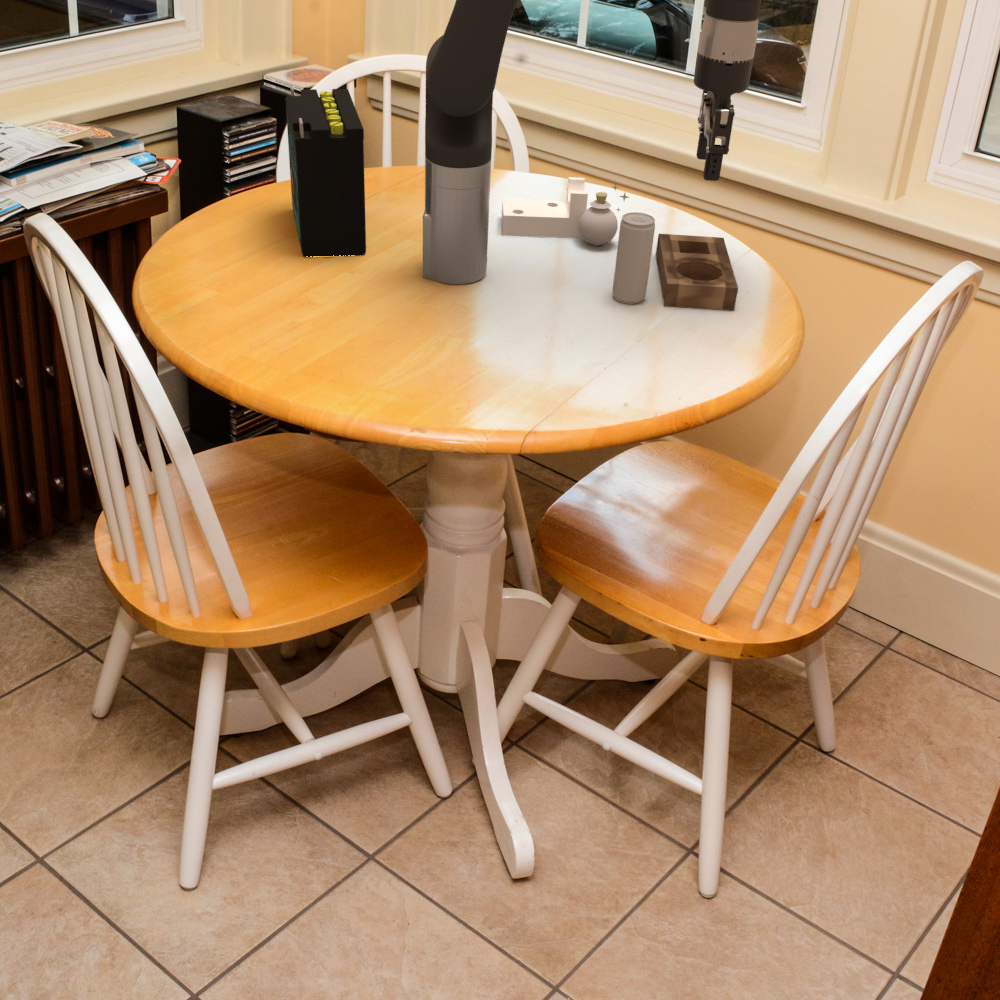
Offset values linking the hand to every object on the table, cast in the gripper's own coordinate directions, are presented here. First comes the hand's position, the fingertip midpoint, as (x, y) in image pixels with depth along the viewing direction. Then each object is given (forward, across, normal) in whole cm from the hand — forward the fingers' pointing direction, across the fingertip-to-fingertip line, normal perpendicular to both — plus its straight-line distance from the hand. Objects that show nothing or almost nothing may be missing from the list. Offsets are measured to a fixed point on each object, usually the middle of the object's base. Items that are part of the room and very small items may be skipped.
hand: (707, 169), depth 160 cm
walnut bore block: (+16, +3, 0) cm, 16 cm away
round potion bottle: (+16, -9, -13) cm, 23 cm away
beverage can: (+16, +10, -10) cm, 22 cm away
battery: (+16, -8, -56) cm, 59 cm away
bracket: (+17, -14, -23) cm, 31 cm away
